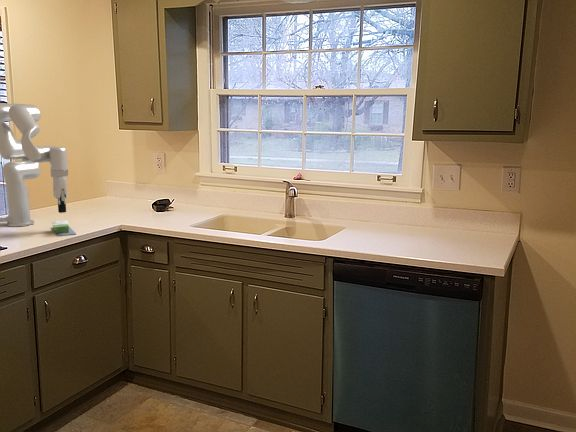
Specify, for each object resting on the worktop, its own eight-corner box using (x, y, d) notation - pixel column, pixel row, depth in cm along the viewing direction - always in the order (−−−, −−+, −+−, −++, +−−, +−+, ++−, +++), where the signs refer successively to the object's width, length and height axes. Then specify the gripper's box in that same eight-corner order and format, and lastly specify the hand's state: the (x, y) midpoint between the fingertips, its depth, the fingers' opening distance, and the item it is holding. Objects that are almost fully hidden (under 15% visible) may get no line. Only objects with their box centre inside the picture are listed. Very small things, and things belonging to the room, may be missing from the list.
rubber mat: (57, 236, 246) (57, 235, 246) (51, 228, 263) (51, 227, 263) (76, 234, 250) (76, 233, 250) (68, 226, 267) (68, 225, 267)
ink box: (52, 229, 258) (53, 235, 246) (52, 221, 258) (52, 227, 246) (68, 228, 261) (69, 234, 249) (67, 220, 260) (68, 225, 248)
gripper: (48, 172, 256) (51, 210, 259) (53, 175, 243) (56, 215, 247) (65, 171, 259) (68, 209, 263) (71, 174, 247) (73, 214, 250)
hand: (62, 212), depth 255 cm, fingers closed
